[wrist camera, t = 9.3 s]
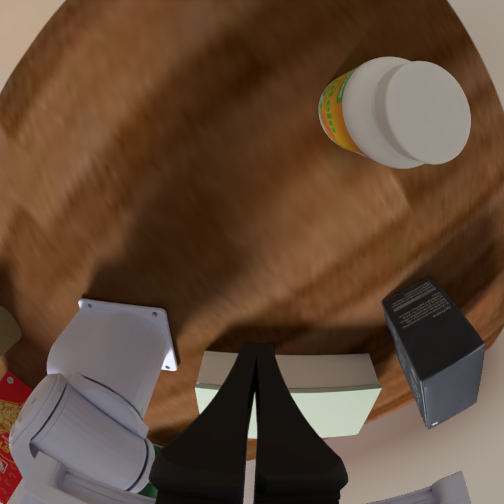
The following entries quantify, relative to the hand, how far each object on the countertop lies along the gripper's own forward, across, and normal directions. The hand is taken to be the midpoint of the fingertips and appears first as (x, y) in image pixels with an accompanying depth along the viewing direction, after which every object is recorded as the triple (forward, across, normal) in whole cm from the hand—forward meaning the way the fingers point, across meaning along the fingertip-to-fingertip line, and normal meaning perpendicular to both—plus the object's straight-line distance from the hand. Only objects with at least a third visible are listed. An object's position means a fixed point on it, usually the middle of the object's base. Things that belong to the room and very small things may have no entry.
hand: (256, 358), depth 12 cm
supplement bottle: (+10, -6, -11) cm, 16 cm away
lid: (+5, -3, +14) cm, 15 cm away
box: (+10, -15, +6) cm, 19 cm away
